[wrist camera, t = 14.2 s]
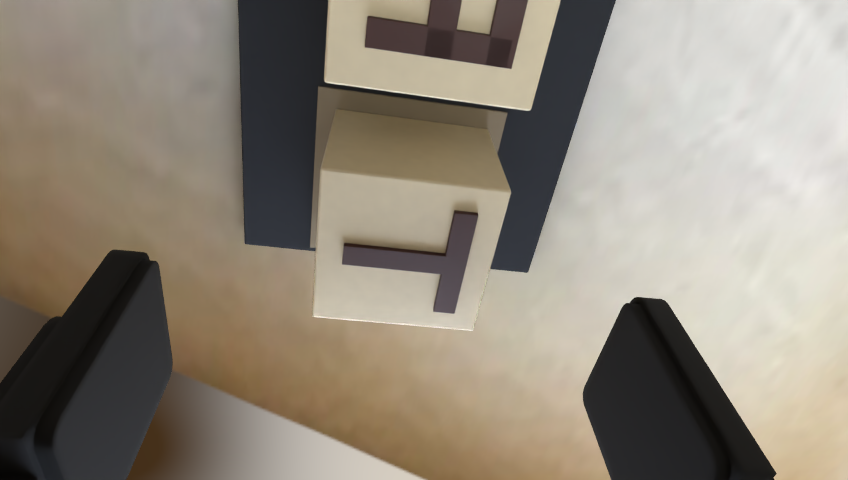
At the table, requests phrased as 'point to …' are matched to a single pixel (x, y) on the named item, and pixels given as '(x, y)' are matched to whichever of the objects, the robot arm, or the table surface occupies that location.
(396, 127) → the tile
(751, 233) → the table surface
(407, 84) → the tile
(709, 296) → the table surface
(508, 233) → the word mat
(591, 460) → the table surface
